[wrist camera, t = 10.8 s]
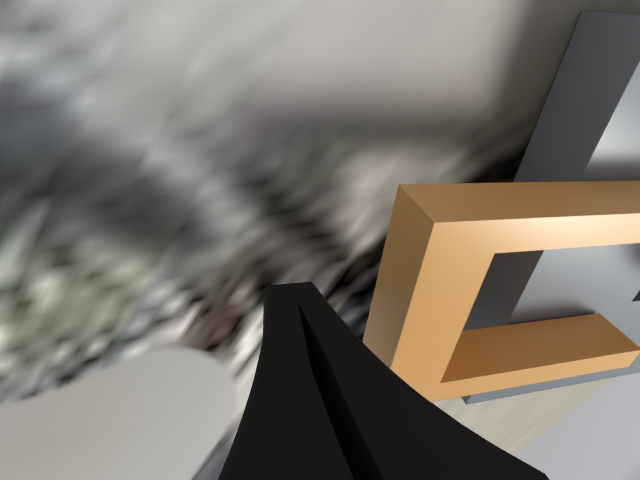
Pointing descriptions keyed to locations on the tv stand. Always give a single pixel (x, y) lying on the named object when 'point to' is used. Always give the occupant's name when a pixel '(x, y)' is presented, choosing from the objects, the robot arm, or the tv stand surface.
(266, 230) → the tv stand surface
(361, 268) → the tv stand surface
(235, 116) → the tv stand surface
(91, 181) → the tv stand surface
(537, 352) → the cap
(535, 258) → the housing
